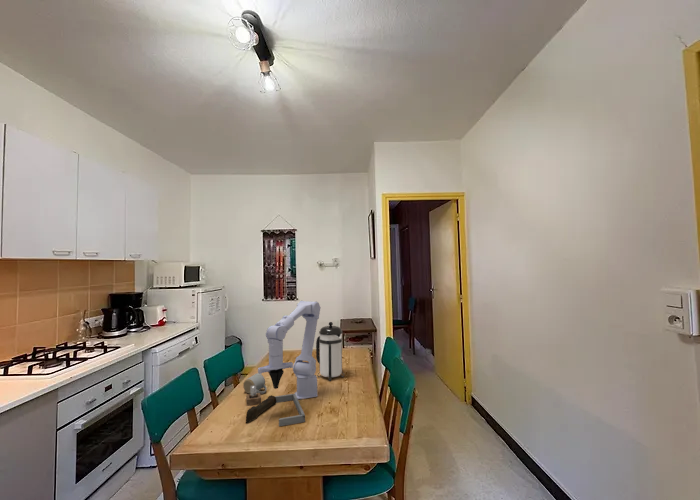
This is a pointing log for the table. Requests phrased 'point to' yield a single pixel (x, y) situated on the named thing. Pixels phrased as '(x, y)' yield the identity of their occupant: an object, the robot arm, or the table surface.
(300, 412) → the u-shaped frame
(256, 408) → the hand tool
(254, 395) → the rod
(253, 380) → the ceramic mug
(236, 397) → the table surface
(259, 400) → the hollow square frame
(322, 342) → the coffee press
